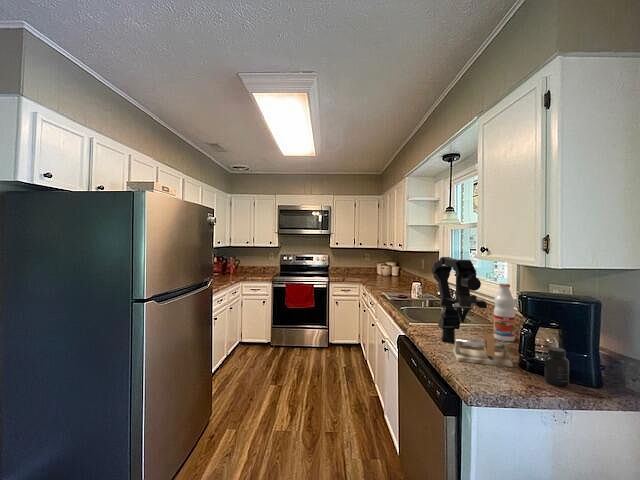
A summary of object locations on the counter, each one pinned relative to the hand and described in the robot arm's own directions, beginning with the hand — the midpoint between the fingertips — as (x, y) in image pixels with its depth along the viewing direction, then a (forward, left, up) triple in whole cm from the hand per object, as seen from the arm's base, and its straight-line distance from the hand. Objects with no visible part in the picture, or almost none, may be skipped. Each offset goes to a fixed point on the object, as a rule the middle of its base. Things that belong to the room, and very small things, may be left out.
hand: (462, 321), depth 140 cm
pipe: (+8, +6, -8) cm, 13 cm away
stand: (+8, +6, -13) cm, 16 cm away
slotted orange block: (+8, +9, -10) cm, 16 cm away
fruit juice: (-26, +24, -13) cm, 38 cm away
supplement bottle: (+26, +26, -13) cm, 39 cm away
